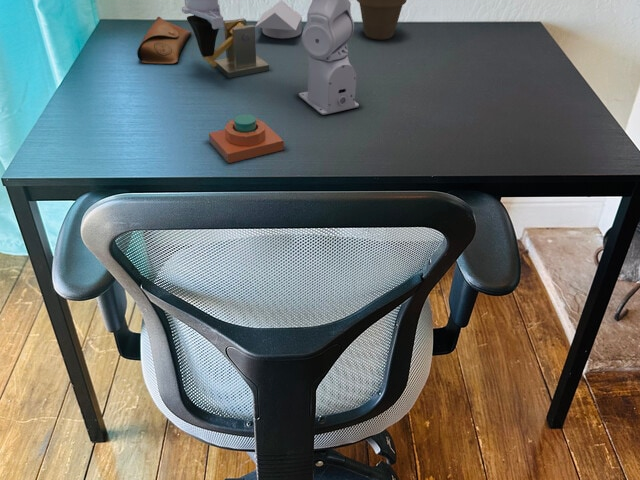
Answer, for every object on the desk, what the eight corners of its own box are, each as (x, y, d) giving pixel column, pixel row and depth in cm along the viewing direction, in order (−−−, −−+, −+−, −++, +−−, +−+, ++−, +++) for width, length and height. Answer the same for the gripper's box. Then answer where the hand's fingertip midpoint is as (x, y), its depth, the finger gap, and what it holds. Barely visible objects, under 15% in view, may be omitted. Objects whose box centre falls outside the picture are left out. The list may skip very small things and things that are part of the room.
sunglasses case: (179, 62, 135) (158, 32, 131) (152, 78, 138) (131, 50, 134) (192, 31, 149) (174, 3, 145) (168, 46, 151) (149, 20, 147)
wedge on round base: (295, 46, 145) (304, 25, 155) (295, 14, 141) (304, -5, 150) (255, 43, 146) (266, 23, 155) (254, 11, 141) (265, -8, 151)
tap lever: (215, 70, 130) (208, 61, 128) (205, 61, 133) (199, 52, 131) (253, 37, 130) (247, 27, 128) (243, 29, 133) (236, 19, 131)
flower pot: (345, 29, 154) (347, -18, 147) (388, 24, 157) (392, -22, 150) (367, 46, 146) (370, -2, 139) (411, 40, 150) (417, -7, 143)
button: (260, 131, 109) (259, 121, 107) (239, 135, 107) (239, 125, 106) (250, 122, 111) (250, 112, 110) (231, 126, 109) (230, 116, 108)
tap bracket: (228, 78, 131) (225, 32, 125) (214, 65, 136) (210, 21, 130) (269, 70, 135) (267, 25, 129) (254, 58, 139) (252, 14, 133)
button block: (283, 149, 110) (283, 130, 108) (228, 163, 107) (227, 143, 104) (262, 130, 116) (262, 111, 113) (209, 142, 112) (207, 122, 109)
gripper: (166, -28, 124) (175, 45, 133) (194, -6, 115) (202, 71, 124) (201, -32, 127) (207, 40, 136) (232, -11, 117) (236, 65, 127)
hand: (207, 55), depth 130 cm, fingers closed, pressing on tap lever
